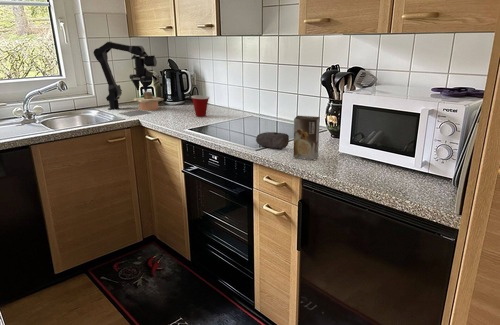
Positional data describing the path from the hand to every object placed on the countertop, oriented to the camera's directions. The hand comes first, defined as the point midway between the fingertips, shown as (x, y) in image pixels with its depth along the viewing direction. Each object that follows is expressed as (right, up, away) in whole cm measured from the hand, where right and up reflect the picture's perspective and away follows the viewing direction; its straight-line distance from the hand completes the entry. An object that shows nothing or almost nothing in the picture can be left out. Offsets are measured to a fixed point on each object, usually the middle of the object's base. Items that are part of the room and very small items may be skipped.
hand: (141, 91), depth 245 cm
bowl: (+4, -11, +4) cm, 13 cm away
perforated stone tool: (+79, -40, -82) cm, 121 cm away
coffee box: (+92, -45, -95) cm, 140 cm away
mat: (-1, -16, -10) cm, 19 cm away
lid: (+4, -6, +2) cm, 7 cm away
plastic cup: (+41, -19, -17) cm, 48 cm away
